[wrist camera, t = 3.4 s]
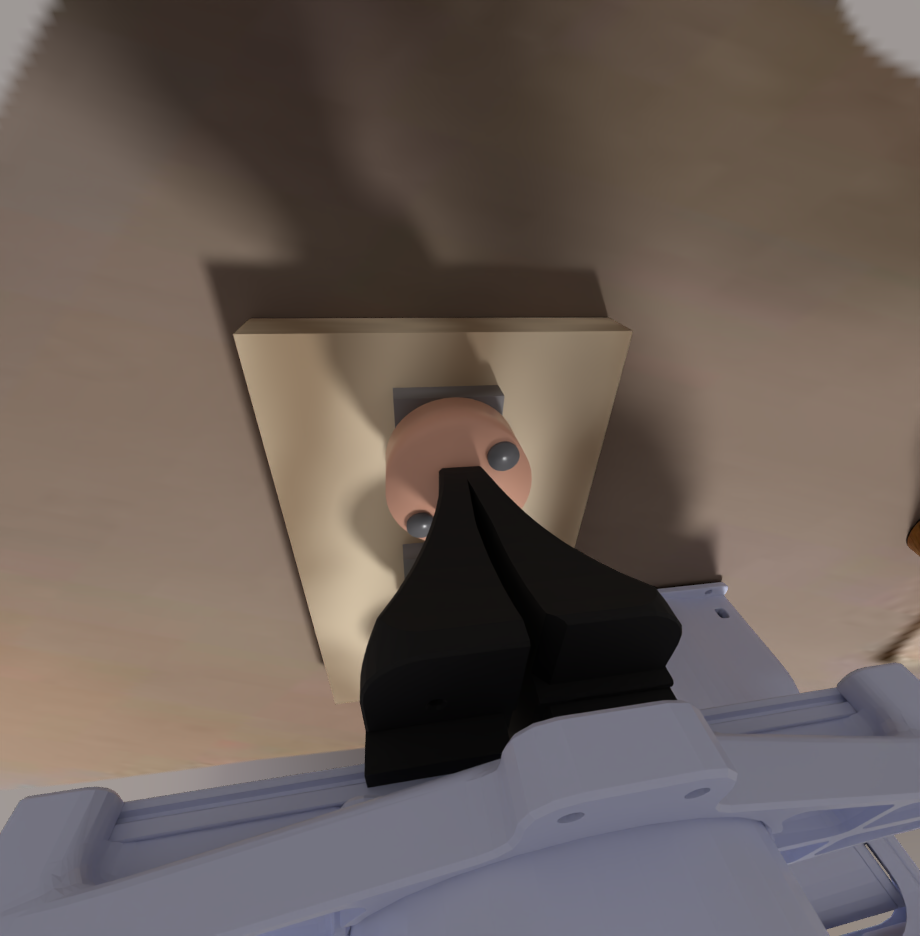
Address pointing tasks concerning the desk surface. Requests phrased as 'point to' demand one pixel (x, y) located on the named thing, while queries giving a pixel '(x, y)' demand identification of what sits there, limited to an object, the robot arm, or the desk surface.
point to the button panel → (379, 412)
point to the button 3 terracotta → (449, 457)
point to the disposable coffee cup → (915, 539)
